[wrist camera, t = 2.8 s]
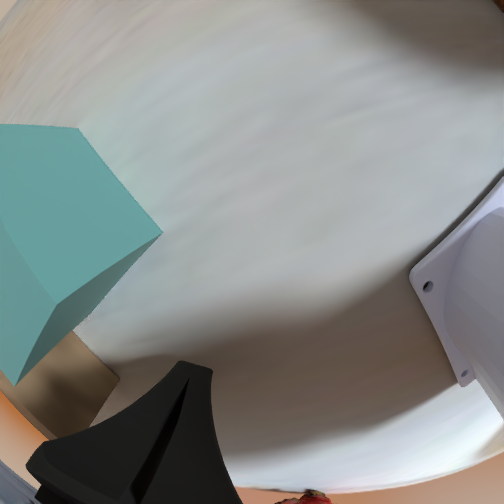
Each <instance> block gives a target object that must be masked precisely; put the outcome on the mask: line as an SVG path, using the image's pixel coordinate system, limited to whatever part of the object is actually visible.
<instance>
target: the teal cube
mask: <svg viewBox="0 0 504 504" xmlns="http://www.w3.org/2000/svg"><path fill="white" fill-rule="evenodd" d="M162 233H163V231H162V230H161V229H160V228H159V227H158V225H157V224H156V223H155V222H154V221H153V220H152V219H151V217H150V216H149V215H148V214H147V213H146V212H145V210H144V209H143V208H142V207H141V206H140V205H139V203H138V202H137V201H136V200H135V199H134V198H133V196H132V195H131V194H130V193H129V192H128V190H127V189H126V188H125V187H124V186H123V184H122V183H121V182H120V181H119V180H118V178H117V177H116V176H115V175H114V174H113V172H112V171H111V170H110V169H109V167H108V166H107V165H106V164H105V162H104V161H103V160H102V159H101V157H100V156H99V155H98V154H97V152H96V151H95V150H94V148H93V147H92V146H91V145H90V143H89V142H88V141H87V139H86V138H85V137H84V136H83V134H82V133H81V132H80V130H79V129H77V128H67V127H55V126H41V125H19V124H0V369H1V371H2V372H3V373H4V374H5V376H6V377H7V378H8V379H9V381H10V382H11V383H12V384H13V385H14V386H16V385H17V384H18V383H19V382H20V381H21V380H22V379H23V378H24V377H25V376H26V375H27V374H28V373H29V372H30V370H31V369H32V368H33V367H34V366H35V365H36V364H37V363H38V362H39V361H40V360H41V359H42V358H43V357H45V356H46V355H47V354H48V353H49V352H50V351H51V350H52V349H53V348H54V347H55V346H56V345H57V344H58V343H59V342H60V341H61V340H62V339H63V338H64V337H65V336H66V335H67V334H69V333H70V332H71V331H72V330H73V329H74V328H75V327H76V326H77V325H78V324H79V323H80V322H82V321H83V320H84V319H85V318H86V317H87V316H88V315H89V314H90V313H91V312H92V311H93V310H94V309H95V308H96V306H97V305H98V304H99V303H100V302H101V300H102V299H103V298H104V297H105V296H106V294H107V293H108V292H109V291H110V290H111V289H112V287H113V286H114V285H115V284H116V283H117V282H118V281H119V279H120V278H121V277H122V276H123V275H124V274H125V273H126V272H127V270H128V269H129V268H130V267H131V266H132V265H133V264H134V263H135V262H136V261H137V259H138V258H139V257H140V256H141V255H142V254H143V253H144V252H145V251H146V250H147V249H148V248H149V247H150V246H151V245H152V243H153V242H154V241H155V240H156V239H157V238H158V237H159V236H160V235H161V234H162Z"/></svg>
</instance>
